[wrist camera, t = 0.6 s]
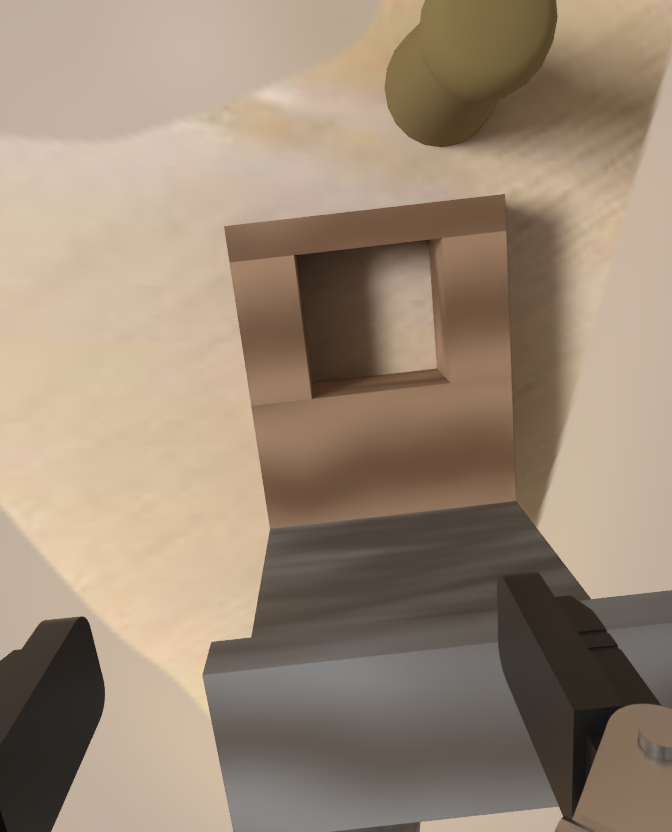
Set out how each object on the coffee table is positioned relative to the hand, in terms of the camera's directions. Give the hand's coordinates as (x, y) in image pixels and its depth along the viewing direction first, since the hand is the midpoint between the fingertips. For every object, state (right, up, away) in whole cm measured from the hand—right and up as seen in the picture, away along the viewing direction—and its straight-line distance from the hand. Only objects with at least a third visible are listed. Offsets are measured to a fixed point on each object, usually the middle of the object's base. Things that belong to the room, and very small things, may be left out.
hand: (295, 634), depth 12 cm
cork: (+6, +22, +21) cm, 31 cm away
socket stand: (+3, +7, +25) cm, 26 cm away
